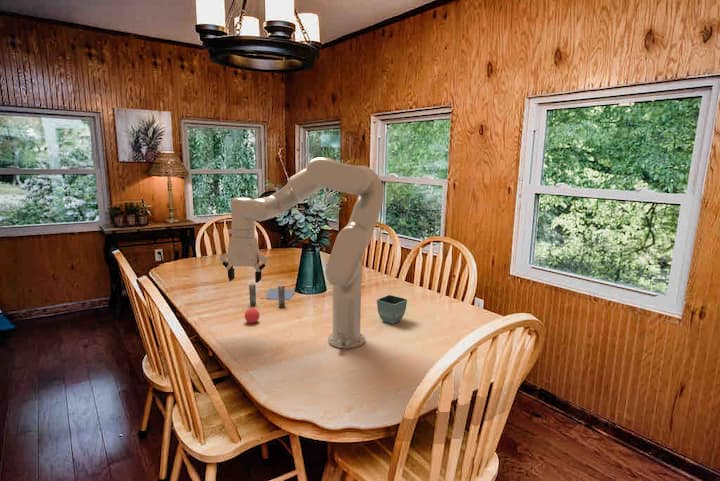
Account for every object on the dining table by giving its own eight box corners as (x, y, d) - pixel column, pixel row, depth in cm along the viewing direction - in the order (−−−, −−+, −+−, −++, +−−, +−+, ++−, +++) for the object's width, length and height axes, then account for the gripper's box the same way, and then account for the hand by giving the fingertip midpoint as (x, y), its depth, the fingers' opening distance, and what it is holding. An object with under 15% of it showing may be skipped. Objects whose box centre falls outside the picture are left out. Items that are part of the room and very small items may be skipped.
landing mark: (289, 299, 184) (289, 299, 184) (258, 298, 185) (258, 298, 185) (297, 290, 197) (297, 289, 197) (268, 289, 199) (268, 288, 199)
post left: (255, 306, 175) (254, 286, 173) (249, 306, 175) (248, 286, 173) (257, 304, 177) (256, 284, 176) (251, 304, 177) (250, 284, 176)
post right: (284, 308, 173) (283, 287, 172) (278, 307, 174) (277, 287, 172) (285, 305, 176) (285, 285, 174) (279, 305, 176) (279, 285, 175)
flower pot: (388, 315, 167) (389, 294, 165) (407, 320, 161) (407, 299, 159) (375, 321, 160) (376, 299, 158) (394, 327, 154) (394, 304, 153)
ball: (256, 325, 155) (256, 311, 154) (242, 324, 155) (242, 311, 154) (261, 320, 160) (261, 306, 159) (248, 319, 161) (247, 305, 160)
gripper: (214, 234, 140) (216, 282, 143) (263, 236, 138) (264, 285, 141) (224, 230, 147) (226, 276, 151) (271, 232, 145) (271, 279, 149)
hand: (244, 280), depth 146 cm, fingers open, 9 cm apart
